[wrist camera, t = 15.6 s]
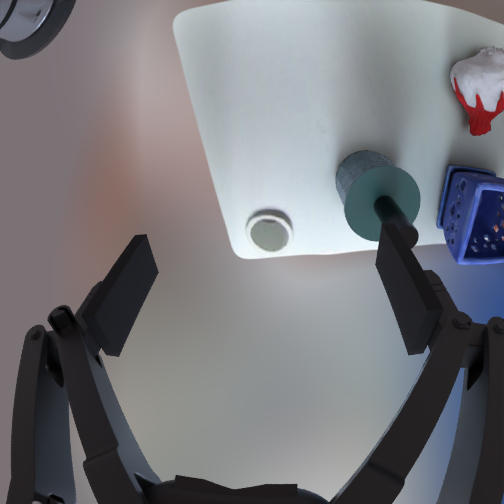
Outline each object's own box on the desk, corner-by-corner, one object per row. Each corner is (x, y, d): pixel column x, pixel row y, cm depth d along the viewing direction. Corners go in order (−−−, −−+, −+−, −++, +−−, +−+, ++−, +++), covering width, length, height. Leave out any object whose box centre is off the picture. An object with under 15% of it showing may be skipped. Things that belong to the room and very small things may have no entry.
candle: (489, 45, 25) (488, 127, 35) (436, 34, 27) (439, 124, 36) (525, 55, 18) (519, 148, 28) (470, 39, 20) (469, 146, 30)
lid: (340, 238, 39) (354, 281, 31) (343, 162, 33) (363, 191, 26) (410, 236, 38) (436, 276, 30) (421, 164, 32) (456, 193, 24)
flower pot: (494, 163, 37) (535, 191, 27) (479, 228, 44) (511, 264, 34) (438, 154, 38) (478, 181, 28) (425, 226, 45) (455, 267, 35)
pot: (334, 209, 45) (345, 237, 38) (335, 150, 40) (348, 167, 33) (391, 208, 44) (409, 234, 37) (396, 151, 39) (419, 169, 32)
